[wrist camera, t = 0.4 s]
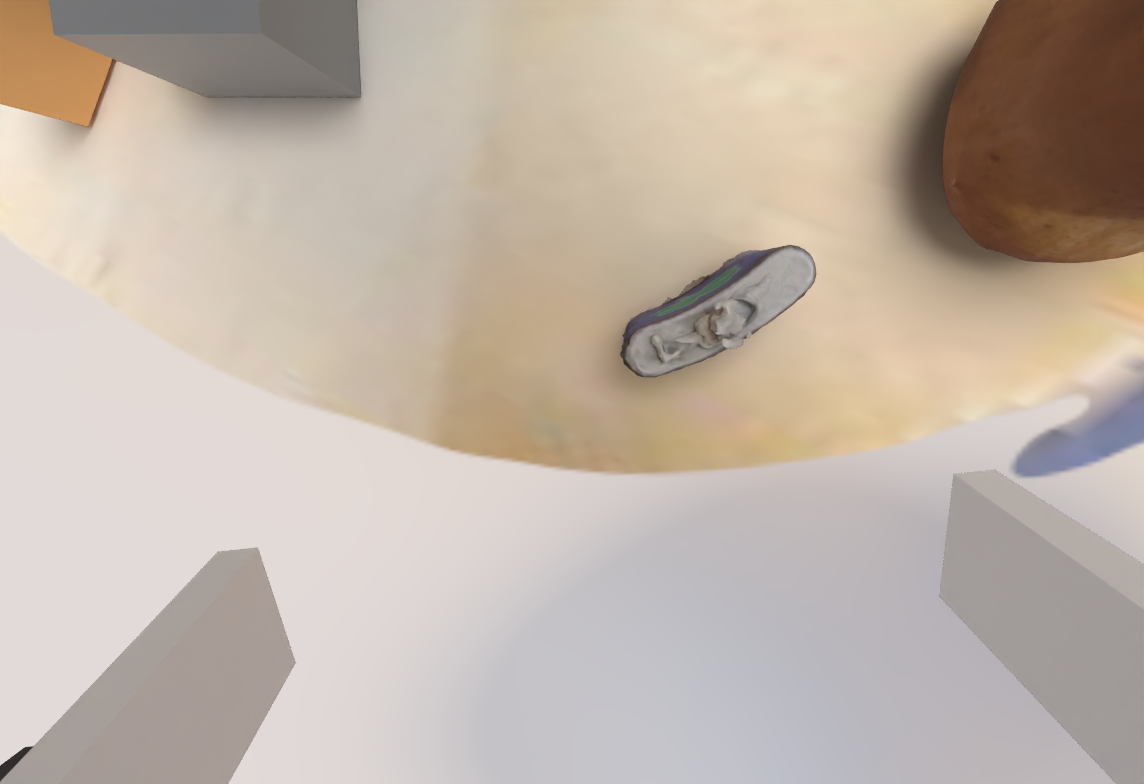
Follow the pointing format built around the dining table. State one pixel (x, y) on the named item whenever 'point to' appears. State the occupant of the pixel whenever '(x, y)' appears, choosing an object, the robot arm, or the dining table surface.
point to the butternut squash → (1051, 131)
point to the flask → (717, 310)
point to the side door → (46, 65)
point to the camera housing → (225, 43)
